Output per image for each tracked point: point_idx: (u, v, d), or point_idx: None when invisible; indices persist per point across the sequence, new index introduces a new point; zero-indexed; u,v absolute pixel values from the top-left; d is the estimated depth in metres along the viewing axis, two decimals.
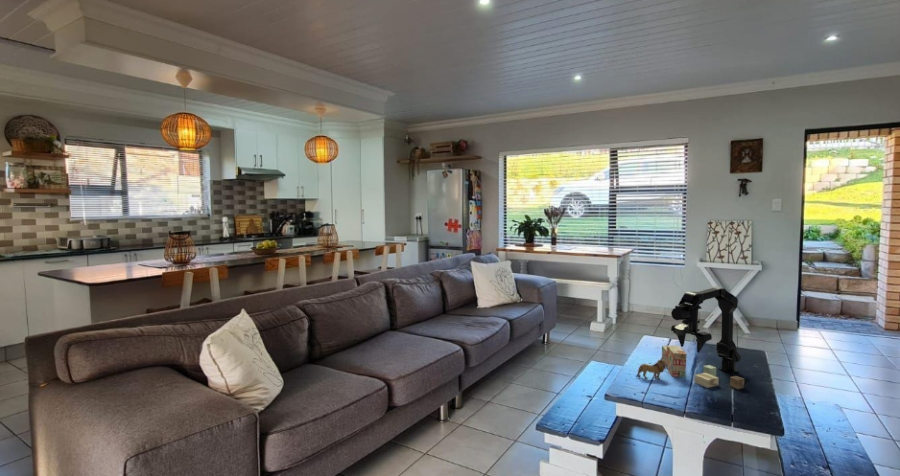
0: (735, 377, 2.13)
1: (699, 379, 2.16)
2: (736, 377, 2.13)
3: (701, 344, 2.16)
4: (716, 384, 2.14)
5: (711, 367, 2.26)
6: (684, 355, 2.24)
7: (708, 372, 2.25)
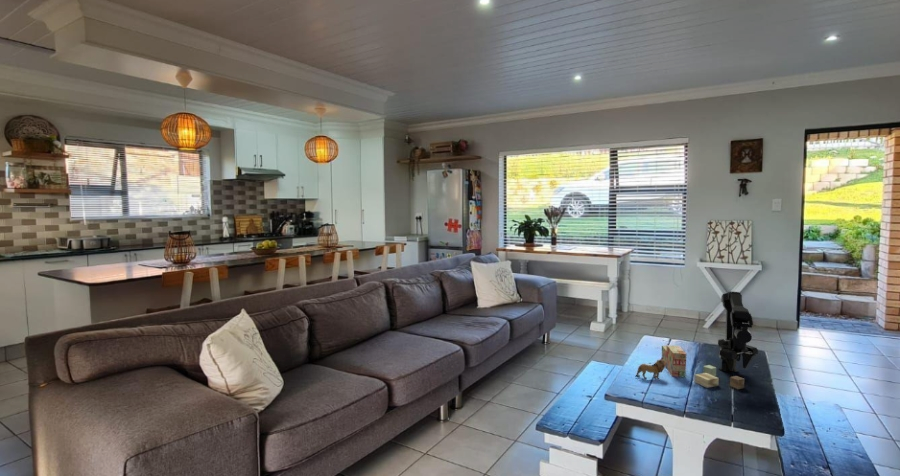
0: (735, 377, 2.13)
1: (699, 379, 2.16)
2: (736, 377, 2.13)
3: (730, 362, 2.09)
4: (716, 384, 2.14)
5: (711, 367, 2.26)
6: (684, 355, 2.24)
7: (708, 372, 2.25)
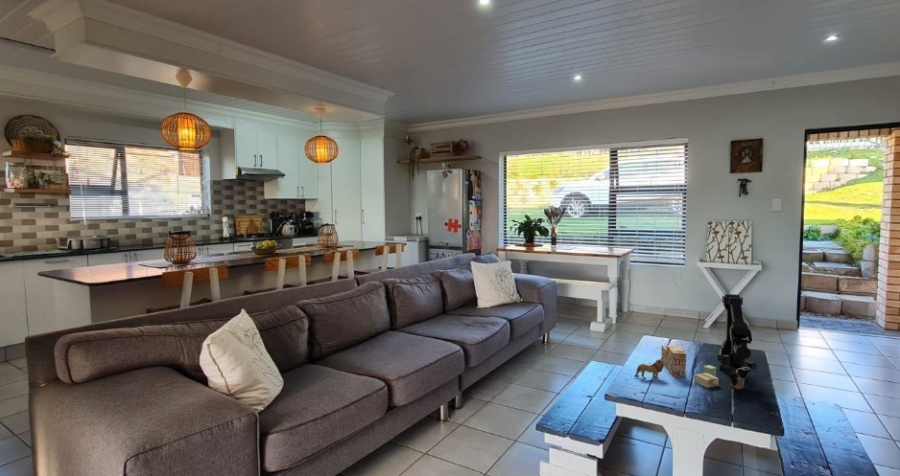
0: None
1: (699, 379, 2.16)
2: None
3: (733, 377, 2.11)
4: (716, 384, 2.14)
5: (711, 367, 2.26)
6: (684, 355, 2.24)
7: (708, 372, 2.25)
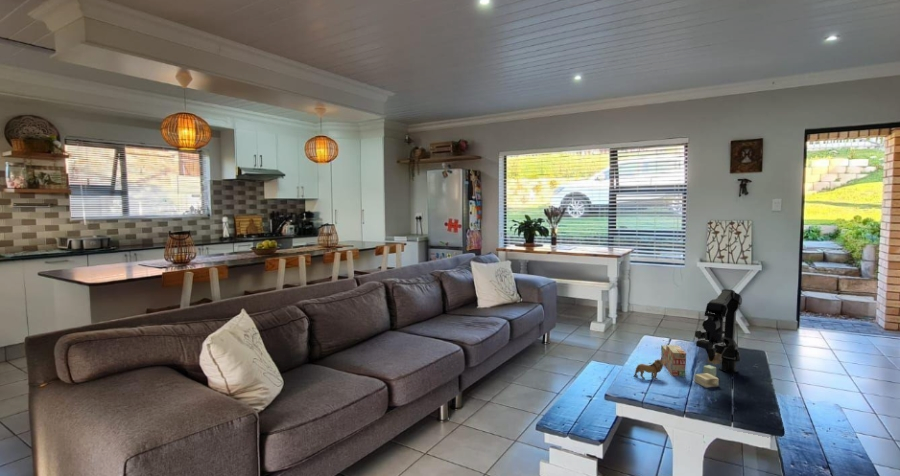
0: None
1: (698, 378, 2.16)
2: None
3: (710, 353, 2.12)
4: (716, 384, 2.13)
5: (711, 367, 2.26)
6: (684, 354, 2.25)
7: (708, 372, 2.25)
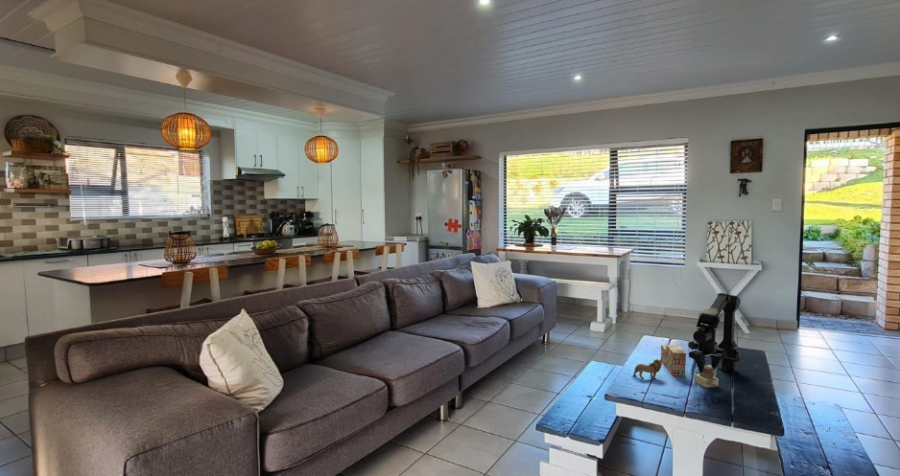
0: (705, 366, 2.16)
1: (698, 378, 2.17)
2: (706, 366, 2.16)
3: (700, 364, 2.13)
4: (715, 385, 2.13)
5: None
6: (684, 354, 2.25)
7: None
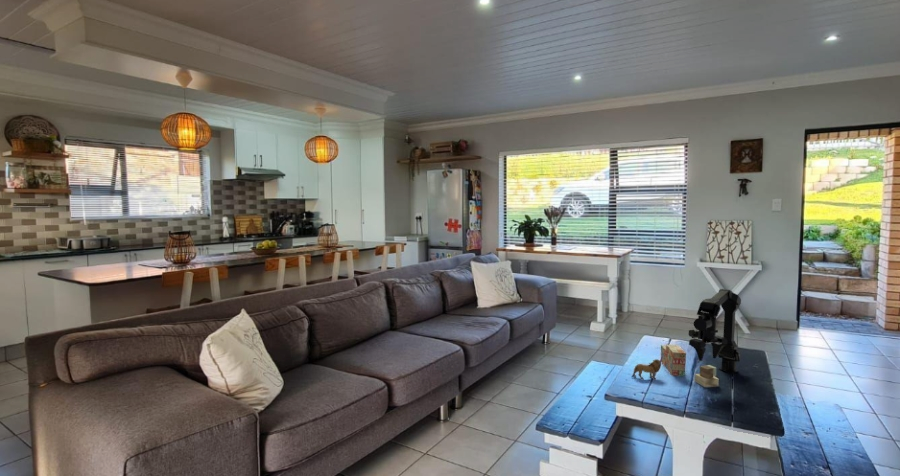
0: (705, 366, 2.16)
1: (698, 378, 2.17)
2: (705, 366, 2.16)
3: (699, 352, 2.13)
4: (716, 385, 2.13)
5: None
6: (683, 354, 2.25)
7: None
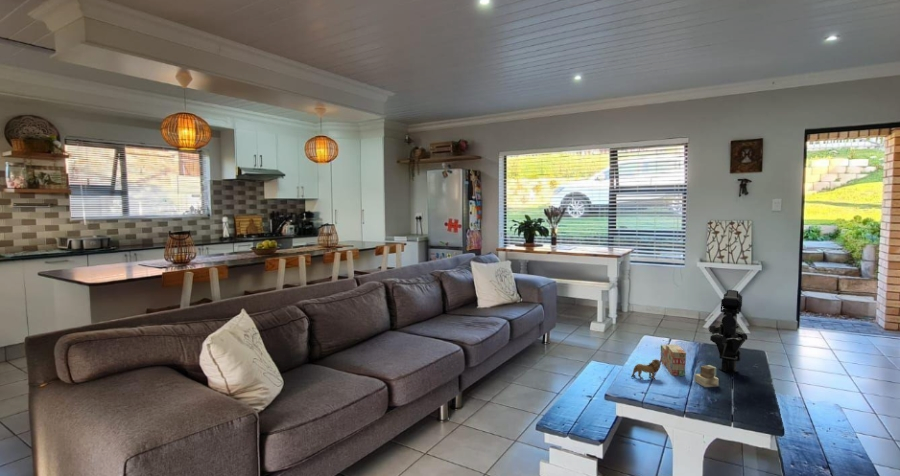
0: (705, 366, 2.16)
1: (698, 378, 2.17)
2: (706, 366, 2.16)
3: (720, 347, 2.18)
4: (716, 385, 2.13)
5: None
6: (683, 354, 2.25)
7: None
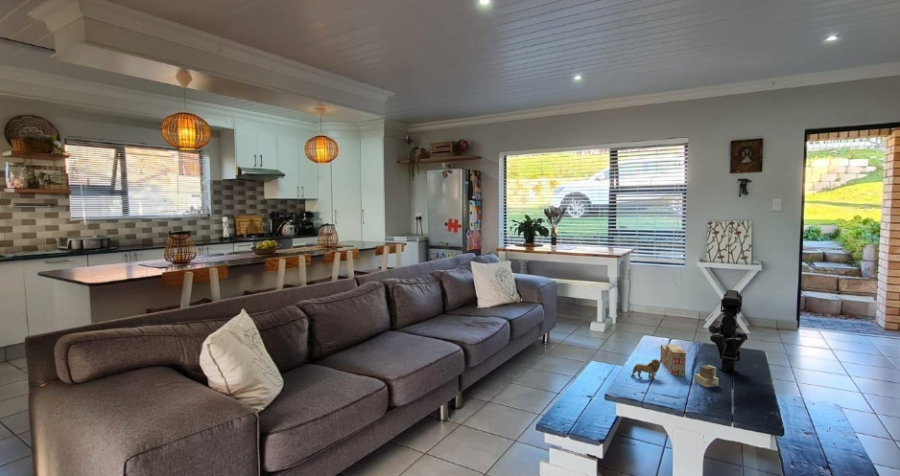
0: (705, 366, 2.16)
1: (698, 378, 2.17)
2: (706, 366, 2.16)
3: (720, 347, 2.18)
4: (716, 385, 2.13)
5: None
6: (683, 354, 2.26)
7: None
